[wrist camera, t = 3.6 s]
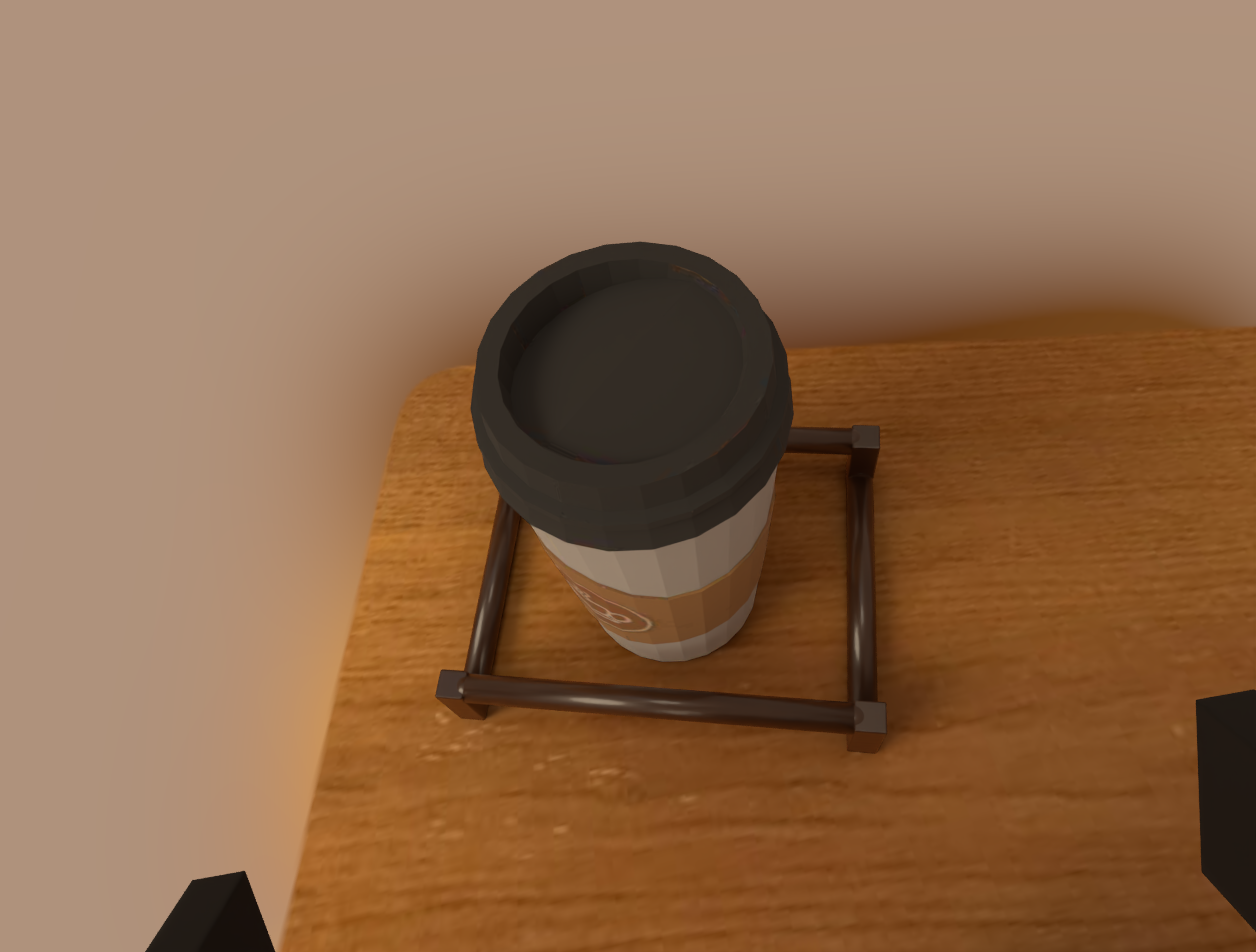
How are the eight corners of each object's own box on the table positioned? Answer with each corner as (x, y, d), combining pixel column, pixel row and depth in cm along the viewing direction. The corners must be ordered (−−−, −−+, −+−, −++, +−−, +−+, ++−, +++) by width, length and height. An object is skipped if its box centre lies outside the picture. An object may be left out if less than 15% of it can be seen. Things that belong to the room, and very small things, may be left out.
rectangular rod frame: (460, 718, 33) (433, 696, 30) (512, 453, 38) (493, 414, 36) (876, 753, 31) (887, 733, 28) (871, 464, 36) (880, 423, 33)
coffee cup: (524, 610, 35) (383, 397, 22) (653, 456, 37) (596, 183, 24) (697, 739, 32) (652, 580, 19) (825, 561, 34) (865, 312, 21)
